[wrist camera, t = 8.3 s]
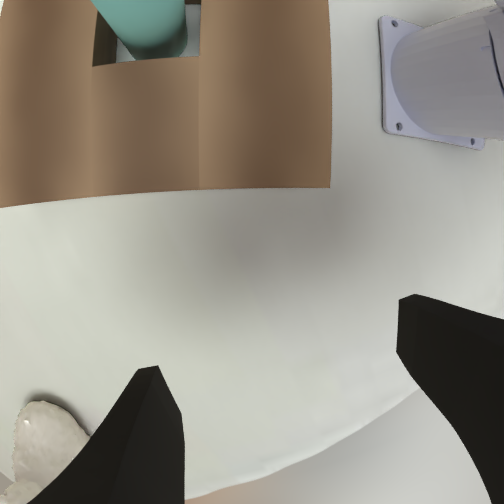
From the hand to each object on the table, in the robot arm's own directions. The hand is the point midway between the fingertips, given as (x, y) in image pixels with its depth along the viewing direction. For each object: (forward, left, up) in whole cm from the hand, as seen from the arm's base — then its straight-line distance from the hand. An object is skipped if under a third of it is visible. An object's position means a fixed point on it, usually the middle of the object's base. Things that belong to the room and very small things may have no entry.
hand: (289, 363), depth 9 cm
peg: (+4, -12, -10) cm, 17 cm away
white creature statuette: (+16, +15, -11) cm, 25 cm away
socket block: (+4, -12, -10) cm, 16 cm away
